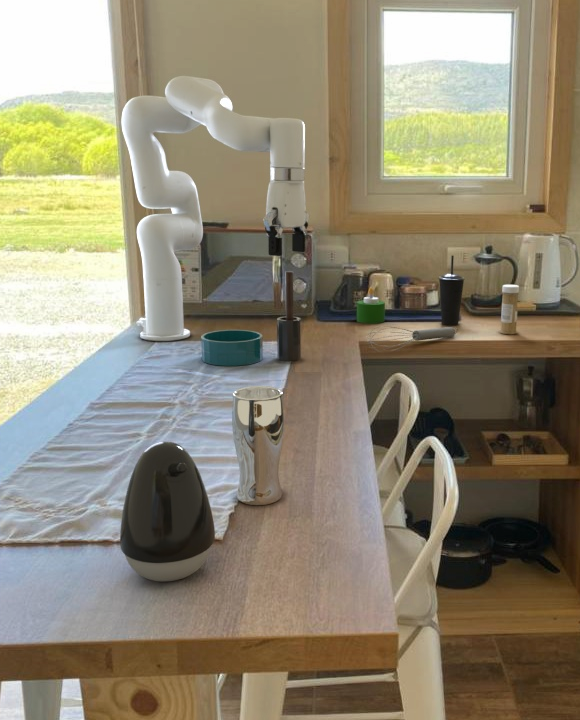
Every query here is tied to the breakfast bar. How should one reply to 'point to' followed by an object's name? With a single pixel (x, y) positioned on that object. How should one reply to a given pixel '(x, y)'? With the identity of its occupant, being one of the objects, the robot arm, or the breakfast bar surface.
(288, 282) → the wooden muddler
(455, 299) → the drinking cup
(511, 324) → the sprinkles bottle
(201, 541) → the black egg-shaped body
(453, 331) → the kitchen whisk
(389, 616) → the breakfast bar surface
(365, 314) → the candle
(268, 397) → the beer glass
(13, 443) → the breakfast bar surface
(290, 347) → the crock
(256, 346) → the bowl
